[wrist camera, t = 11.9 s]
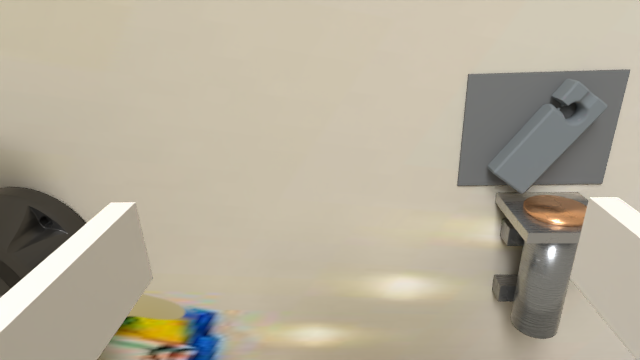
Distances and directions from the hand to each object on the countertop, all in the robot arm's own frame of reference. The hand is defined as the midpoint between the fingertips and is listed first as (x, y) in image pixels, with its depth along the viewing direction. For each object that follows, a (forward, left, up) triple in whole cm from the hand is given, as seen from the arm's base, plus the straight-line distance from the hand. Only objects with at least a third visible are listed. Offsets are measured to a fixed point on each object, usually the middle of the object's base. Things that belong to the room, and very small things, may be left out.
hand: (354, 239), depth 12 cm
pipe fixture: (+19, -19, -29) cm, 39 cm away
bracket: (+14, -8, -30) cm, 34 cm away
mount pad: (+18, -5, -29) cm, 34 cm away
